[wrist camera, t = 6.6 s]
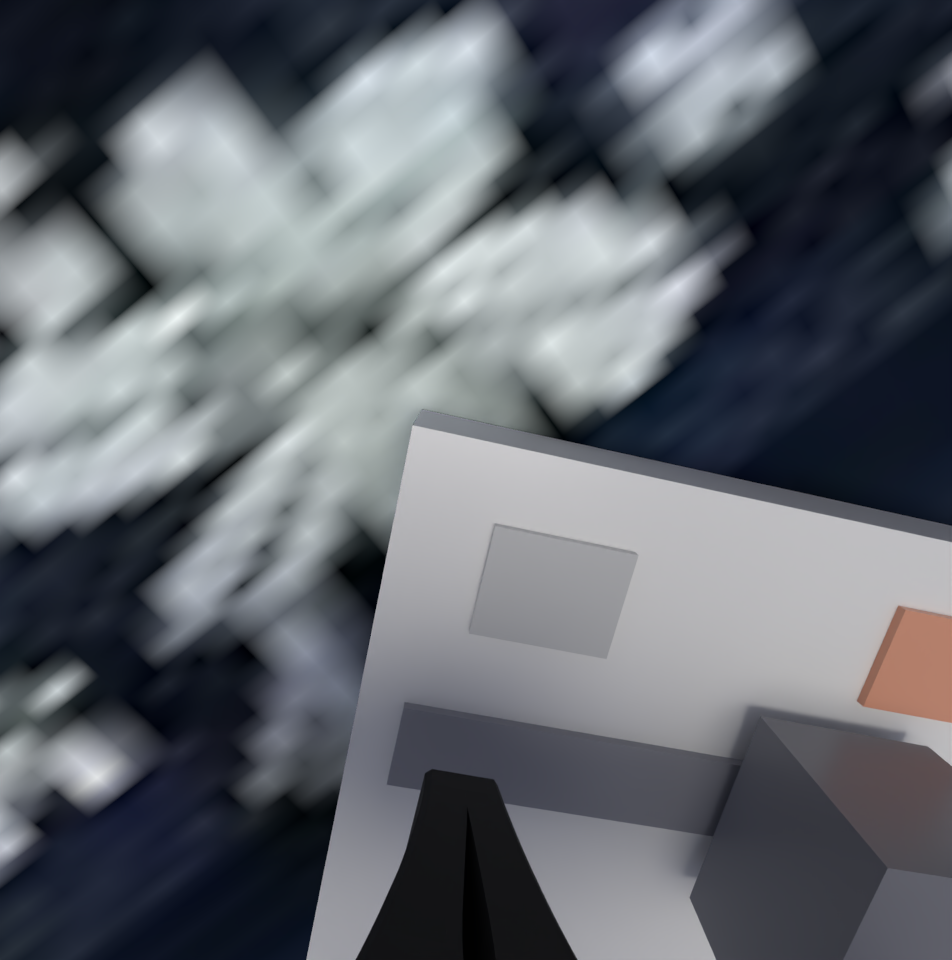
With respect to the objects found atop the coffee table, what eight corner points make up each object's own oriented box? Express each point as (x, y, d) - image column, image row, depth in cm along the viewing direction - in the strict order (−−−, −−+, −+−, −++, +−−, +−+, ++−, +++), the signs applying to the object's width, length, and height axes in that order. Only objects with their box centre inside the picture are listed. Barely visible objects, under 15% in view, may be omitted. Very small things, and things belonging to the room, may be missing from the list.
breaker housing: (331, 860, 16) (301, 980, 13) (422, 409, 13) (412, 426, 10) (815, 930, 18) (892, 1054, 15) (999, 536, 15) (1146, 586, 11)
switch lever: (689, 897, 13) (775, 1098, 9) (760, 716, 12) (887, 867, 8) (844, 920, 13) (983, 1122, 10) (927, 745, 12) (1117, 904, 8)
